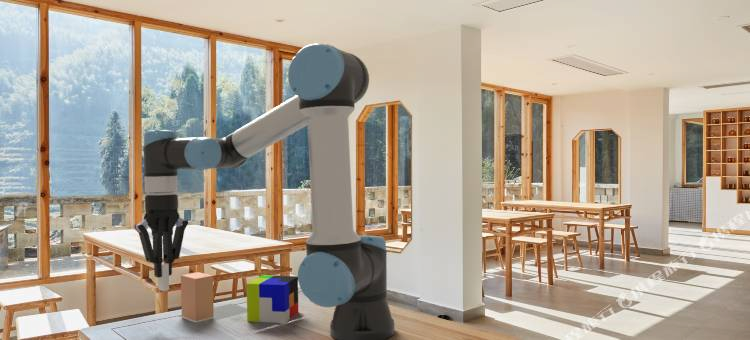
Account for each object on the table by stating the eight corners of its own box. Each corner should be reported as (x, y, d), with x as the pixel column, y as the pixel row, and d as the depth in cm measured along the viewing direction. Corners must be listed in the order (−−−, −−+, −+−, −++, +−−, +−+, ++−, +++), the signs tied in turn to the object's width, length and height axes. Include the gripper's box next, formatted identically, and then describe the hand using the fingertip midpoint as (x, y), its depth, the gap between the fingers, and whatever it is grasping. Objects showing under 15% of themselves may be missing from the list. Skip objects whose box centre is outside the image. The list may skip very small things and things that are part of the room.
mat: (254, 312, 149) (254, 310, 149) (200, 326, 137) (200, 324, 137) (230, 305, 156) (230, 303, 156) (177, 317, 145) (177, 316, 145)
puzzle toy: (284, 325, 138) (284, 285, 137) (247, 323, 140) (246, 283, 139) (298, 313, 147) (297, 276, 147) (263, 312, 149) (262, 275, 149)
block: (213, 318, 142) (212, 275, 142) (195, 322, 139) (194, 278, 138) (199, 313, 147) (198, 271, 147) (181, 317, 143) (180, 275, 143)
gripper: (178, 191, 143) (180, 282, 143) (127, 194, 133) (130, 292, 134) (193, 192, 138) (195, 287, 138) (142, 195, 128) (144, 297, 129)
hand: (163, 289), depth 136 cm, fingers closed
